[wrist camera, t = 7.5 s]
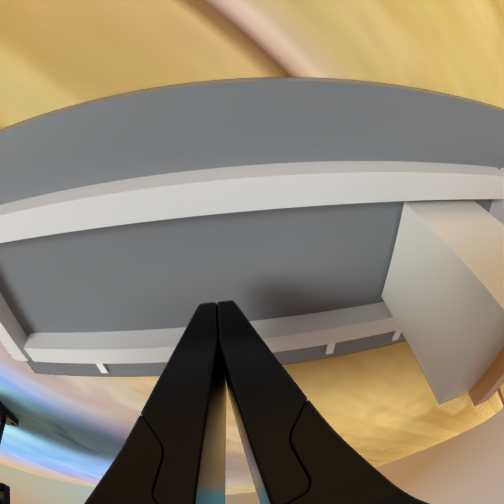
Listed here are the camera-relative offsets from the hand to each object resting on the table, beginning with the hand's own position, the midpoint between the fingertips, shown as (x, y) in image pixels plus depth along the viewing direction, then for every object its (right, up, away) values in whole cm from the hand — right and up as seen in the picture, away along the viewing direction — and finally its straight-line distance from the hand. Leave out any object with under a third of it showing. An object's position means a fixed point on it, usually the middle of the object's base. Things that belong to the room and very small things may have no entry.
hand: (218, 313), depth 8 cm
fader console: (+1, +2, +2) cm, 3 cm away
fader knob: (+7, +2, +2) cm, 7 cm away
